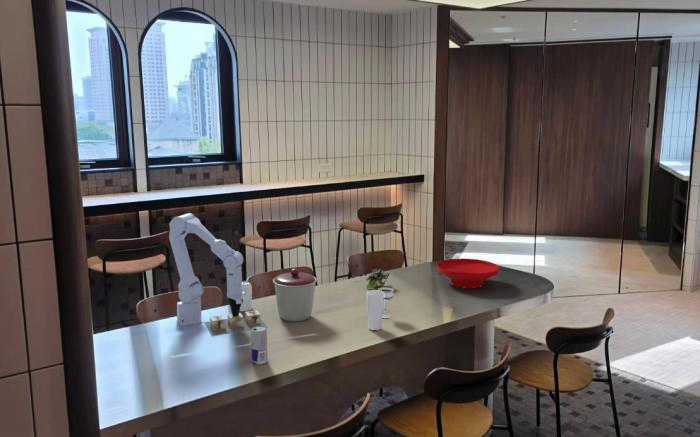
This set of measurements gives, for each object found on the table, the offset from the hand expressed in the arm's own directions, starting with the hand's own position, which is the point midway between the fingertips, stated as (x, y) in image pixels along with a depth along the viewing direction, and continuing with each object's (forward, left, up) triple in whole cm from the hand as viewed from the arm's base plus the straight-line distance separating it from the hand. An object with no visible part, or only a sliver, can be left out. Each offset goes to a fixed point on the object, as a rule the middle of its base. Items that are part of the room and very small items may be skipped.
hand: (235, 315), depth 224 cm
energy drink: (0, -36, -5) cm, 36 cm away
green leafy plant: (+76, +24, -5) cm, 80 cm away
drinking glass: (+50, -24, -5) cm, 56 cm away
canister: (+25, 0, -5) cm, 25 cm away
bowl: (+120, +12, -5) cm, 121 cm away
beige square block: (-7, 0, -4) cm, 8 cm away
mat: (0, 0, -4) cm, 4 cm away
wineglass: (+60, -14, -5) cm, 62 cm away
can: (+8, +18, -5) cm, 20 cm away
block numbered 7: (+7, 0, -4) cm, 8 cm away
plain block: (0, 0, -4) cm, 4 cm away
